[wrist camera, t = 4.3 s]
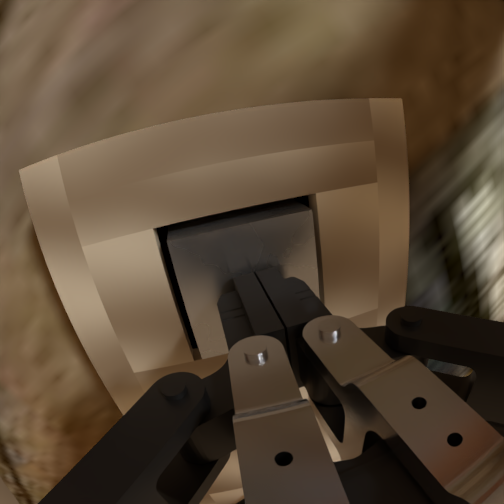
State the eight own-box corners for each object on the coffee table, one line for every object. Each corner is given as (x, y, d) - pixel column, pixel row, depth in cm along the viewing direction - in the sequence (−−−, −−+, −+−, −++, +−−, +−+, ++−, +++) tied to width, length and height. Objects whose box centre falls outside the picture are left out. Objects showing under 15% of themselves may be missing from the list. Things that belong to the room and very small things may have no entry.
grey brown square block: (170, 210, 14) (167, 242, 10) (274, 188, 14) (312, 209, 10) (194, 303, 16) (202, 359, 12) (287, 280, 16) (321, 327, 12)
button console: (58, 159, 12) (18, 170, 8) (351, 103, 14) (401, 98, 10) (211, 496, 23) (217, 529, 20) (350, 456, 25) (366, 486, 22)
